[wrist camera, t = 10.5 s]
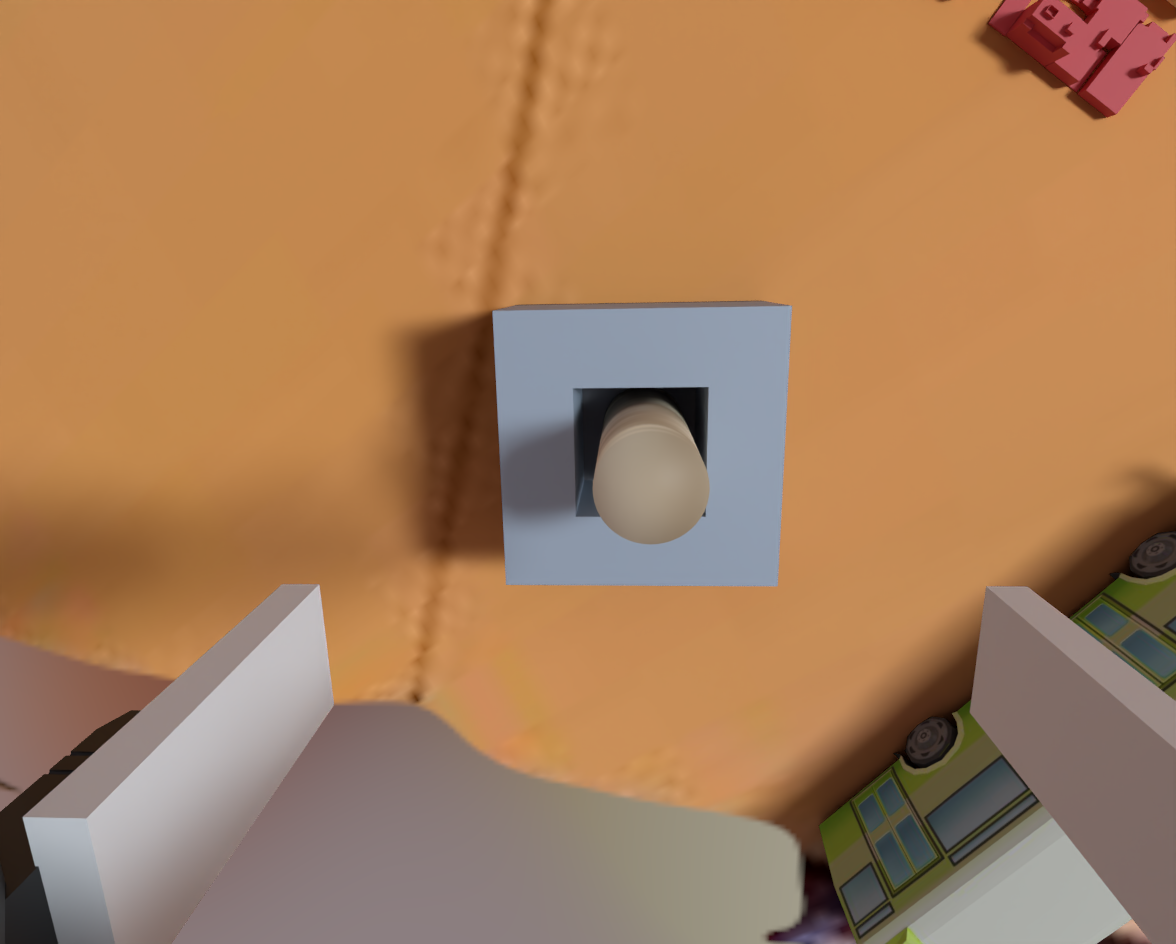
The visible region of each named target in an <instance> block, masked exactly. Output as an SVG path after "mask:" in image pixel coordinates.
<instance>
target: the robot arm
mask: <svg viewBox="0 0 1176 944" xmlns="http://www.w3.org/2000/svg"><path fill="white" fill-rule="evenodd" d="M333 706H334V701H333V693H332V685H331V676H330V668H329V660H328V652H327V643H326V635H325V627H324V619H323V610H322V602H321V594H320V586H319V584H282V585H281V586H280V587H279V588H277V589H276V590H275V591H274V592H273V593H272V594H271V595H270V596H269V597H267V598H266V599H265V600H264V601H263V602H262V603H261V604H260V605H258V606H257V607H256V608H255V609H254V610H253V611H252V612H251V613H250V614H248V615H247V616H246V617H245V618H244V619H243V620H242V621H241V622H240V623H238V624H237V625H236V626H235V627H234V628H233V629H232V630H231V631H229V632H228V633H227V634H226V635H225V636H224V637H223V638H222V639H221V640H219V641H218V642H217V643H216V644H215V645H214V646H213V647H212V648H211V649H209V650H208V651H207V652H206V653H205V654H204V655H203V656H202V657H200V658H199V659H198V660H197V661H196V662H195V663H194V664H193V665H192V666H190V667H189V668H188V669H187V670H186V671H185V672H184V673H183V674H182V675H180V676H179V677H178V678H177V679H176V680H175V681H174V682H173V683H171V684H170V685H169V686H168V687H167V688H166V689H165V690H164V691H163V692H161V693H160V694H159V695H158V696H157V697H156V698H155V699H154V700H153V701H151V702H150V703H149V704H148V705H147V706H146V707H145V708H144V709H142V710H141V711H133V710H132V711H129V712H127V713H126V714H124V715H122V716H120V717H119V718H116V719H115V720H113V721H111V722H109V723H108V724H106V725H104V726H102V727H100V728H98V729H96V730H95V731H94V732H93V733H92V734H91V735H90V736H88V737H87V738H86V739H85V740H84V741H82V742H81V743H80V744H79V745H78V746H77V747H76V748H74V749H73V750H72V751H71V755H70V756H65V757H64V758H63V759H62V760H60V761H59V762H58V763H57V764H56V765H54V766H53V767H52V768H51V769H50V772H49V774H44V775H43V776H42V777H41V778H39V779H38V780H37V781H36V782H35V783H34V784H32V785H31V786H30V787H29V788H28V789H26V790H25V791H24V792H23V793H22V794H21V795H19V796H18V797H17V798H16V799H15V800H14V801H13V802H11V803H10V804H9V805H8V806H7V807H5V808H4V809H3V810H2V811H1V812H0V944H172V942H173V941H174V939H175V937H176V936H177V935H178V933H179V932H180V930H181V929H182V927H183V926H184V924H185V923H186V922H187V920H188V918H189V917H190V915H191V914H192V913H193V911H194V910H195V908H196V907H197V905H198V904H199V902H200V901H201V899H202V898H203V896H204V895H205V894H206V892H207V891H208V889H209V888H210V886H211V885H212V883H213V882H214V880H215V879H216V877H217V876H218V874H219V873H220V872H221V870H222V869H223V867H224V866H225V864H226V863H227V861H228V860H229V858H230V857H231V855H232V854H233V852H234V851H235V850H236V848H237V846H238V845H239V843H240V842H241V841H242V839H243V838H244V836H245V835H246V833H247V832H248V830H249V829H250V828H251V826H252V824H253V823H254V822H255V820H256V819H257V817H258V816H259V814H260V813H261V811H262V810H263V808H264V807H265V805H266V804H267V803H268V801H269V800H270V798H271V797H272V795H273V794H274V792H275V791H276V789H277V788H278V786H279V785H280V783H281V782H282V780H283V779H284V778H285V776H286V775H287V773H288V772H289V770H290V769H291V767H292V766H293V764H294V763H295V761H296V760H297V758H298V757H299V755H300V754H301V753H302V751H303V749H304V748H305V747H306V745H307V744H308V742H309V741H310V739H311V738H312V736H313V735H314V733H315V732H316V730H317V729H318V728H319V726H320V725H321V723H322V721H323V720H324V719H325V717H326V716H327V714H328V713H329V711H330V710H331V709H332V707H333ZM970 713H971V715H972V716H973V717H974V719H975V720H976V721H977V722H978V724H979V725H980V726H981V727H982V729H983V730H984V731H985V732H986V734H987V735H988V736H989V738H990V739H991V740H992V741H993V743H994V744H995V745H996V746H997V748H998V749H999V750H1000V752H1001V753H1002V754H1003V755H1004V757H1005V758H1006V759H1007V760H1008V762H1009V763H1010V764H1011V765H1012V767H1013V768H1014V769H1015V771H1016V772H1017V773H1018V774H1019V776H1020V777H1021V778H1022V779H1023V781H1024V782H1025V783H1026V784H1027V786H1028V787H1029V788H1030V790H1031V791H1032V792H1033V793H1034V795H1035V796H1036V797H1037V798H1038V800H1039V801H1040V802H1041V803H1042V805H1043V806H1044V807H1045V809H1046V810H1047V811H1048V812H1049V814H1050V815H1051V816H1052V817H1053V819H1054V820H1055V821H1056V823H1057V824H1058V825H1059V826H1060V828H1061V829H1062V830H1063V831H1064V833H1065V834H1066V835H1067V836H1068V838H1069V839H1070V840H1071V842H1072V843H1073V844H1074V845H1075V847H1076V848H1077V849H1078V850H1079V852H1080V853H1081V854H1082V855H1083V857H1084V858H1085V859H1086V861H1087V862H1088V863H1089V864H1090V866H1091V867H1092V868H1093V869H1094V871H1095V872H1096V873H1097V874H1098V876H1099V877H1100V878H1101V880H1102V881H1103V882H1104V883H1105V885H1106V886H1107V887H1108V888H1109V890H1110V891H1111V892H1112V894H1113V895H1114V896H1115V897H1116V899H1117V900H1118V901H1119V902H1120V904H1121V905H1122V906H1123V907H1124V909H1125V910H1126V911H1127V913H1128V914H1129V915H1130V916H1131V918H1132V919H1133V920H1134V921H1135V923H1136V924H1137V925H1138V926H1139V928H1140V929H1141V930H1142V932H1143V933H1144V934H1145V935H1146V937H1147V938H1148V939H1149V940H1150V942H1151V943H1152V944H1176V701H1175V700H1173V699H1172V698H1171V697H1170V696H1168V695H1167V694H1166V693H1164V692H1163V691H1162V690H1161V689H1159V688H1158V687H1157V686H1155V685H1154V684H1153V683H1151V682H1150V681H1149V680H1148V679H1146V678H1145V677H1144V676H1142V675H1141V674H1140V673H1139V672H1137V671H1136V670H1135V669H1133V668H1132V667H1131V666H1129V665H1128V664H1127V663H1126V662H1124V661H1123V660H1122V659H1120V658H1119V657H1118V656H1117V655H1115V654H1114V653H1113V652H1111V651H1110V650H1109V649H1107V648H1106V647H1105V646H1104V645H1102V644H1101V643H1100V642H1098V641H1097V640H1096V639H1095V638H1093V637H1092V636H1091V635H1089V634H1088V633H1087V632H1085V631H1084V630H1083V629H1082V628H1080V627H1079V626H1078V625H1076V624H1075V623H1074V622H1073V621H1071V620H1070V619H1069V618H1067V617H1066V616H1065V615H1063V614H1062V613H1061V612H1060V611H1058V610H1057V609H1056V608H1054V607H1053V606H1052V605H1051V604H1049V603H1048V602H1047V601H1045V600H1044V599H1043V598H1041V597H1040V596H1039V595H1038V594H1036V593H1035V592H1034V591H1032V590H1031V589H1030V588H1029V587H1027V586H986V592H985V599H984V607H983V615H982V622H981V630H980V638H979V645H978V653H977V661H976V668H975V676H974V684H973V691H972V699H971V706H970Z"/></svg>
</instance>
